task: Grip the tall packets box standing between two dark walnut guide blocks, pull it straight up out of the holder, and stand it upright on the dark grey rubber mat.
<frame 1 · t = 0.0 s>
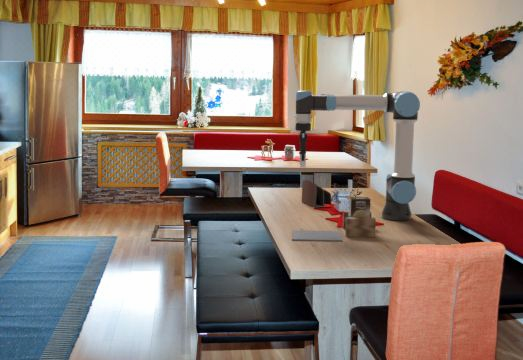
hand: (302, 165, 329), 28 cm above the table, tool pointing down, fingers open, 13 cm apart
coffee box: (358, 232, 311), on the table
packet holder: (358, 231, 311), on the table
letter holder: (316, 205, 379), on the table
rubber mat: (316, 236, 301), on the table
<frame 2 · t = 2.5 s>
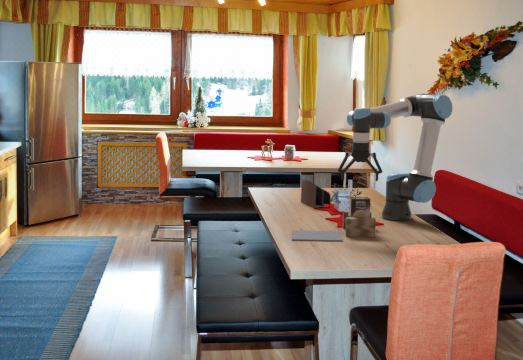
hand: (359, 187, 308), 21 cm above the table, tool pointing down, fingers open, 13 cm apart
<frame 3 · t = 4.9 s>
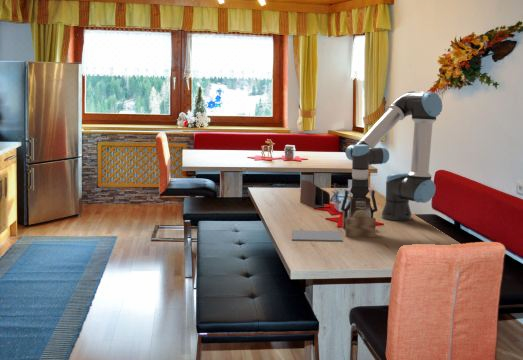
hand: (358, 225, 311), 3 cm above the table, tool pointing down, fingers closed on coffee box, 9 cm apart
coffee box: (358, 232, 311), on the table, touching gripper
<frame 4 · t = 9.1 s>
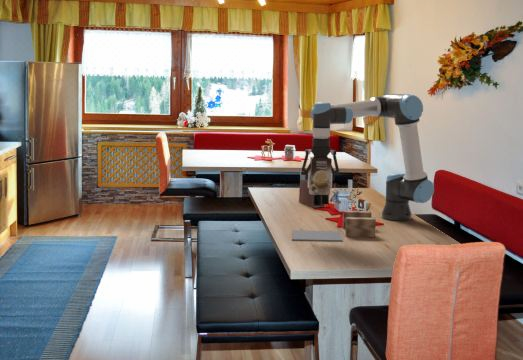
hand: (319, 187, 299), 22 cm above the table, tool pointing down, fingers closed on coffee box, 9 cm apart
coffee box: (319, 194, 299), point 19 cm above the table, touching gripper
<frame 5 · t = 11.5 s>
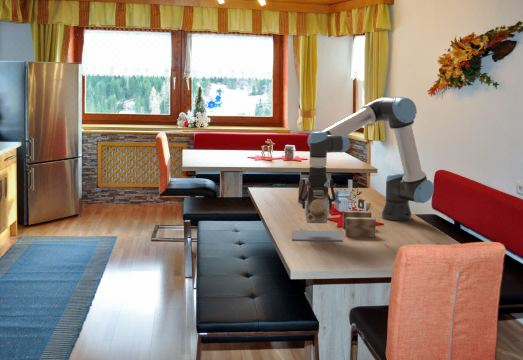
hand: (316, 216, 300), 9 cm above the table, tool pointing down, fingers closed on coffee box, 9 cm apart
coffee box: (316, 222, 300), point 6 cm above the table, touching gripper
when the fingers open (5 cm above the table, at t = 13.3 s): coffee box drops 2 cm, resting on rubber mat.
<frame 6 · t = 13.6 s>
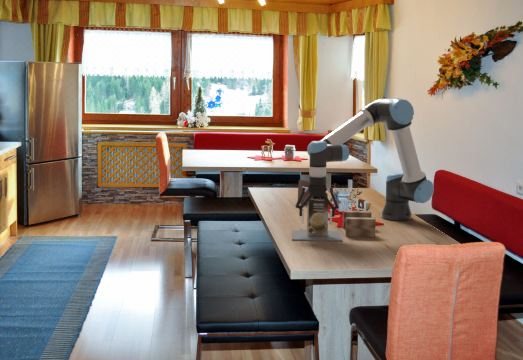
hand: (316, 223, 300), 6 cm above the table, tool pointing down, fingers open, 12 cm apart
coffee box: (317, 235, 301), resting on rubber mat
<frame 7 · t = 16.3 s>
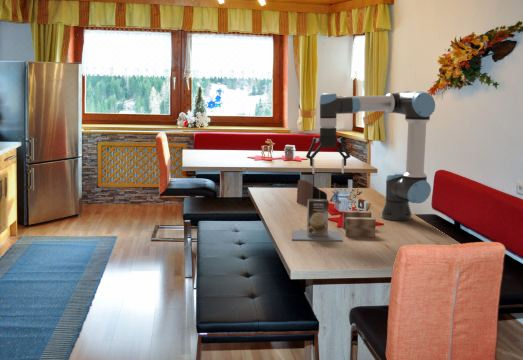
hand: (328, 173, 309), 27 cm above the table, tool pointing down, fingers open, 13 cm apart
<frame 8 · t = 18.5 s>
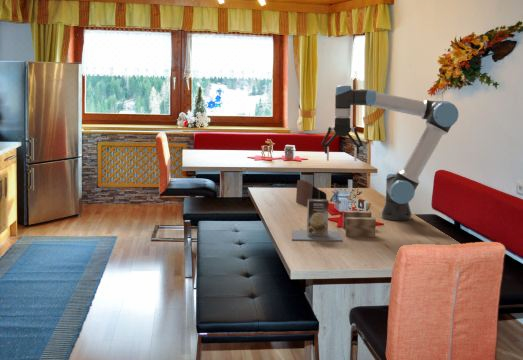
hand: (341, 160, 329), 31 cm above the table, tool pointing down, fingers open, 13 cm apart
at the end: coffee box inside the target area on the rubber mat (0.3 cm from its centre), point 0.4 cm above the rubber mat's base; coffee box tilted 0°; the gripper is holding nothing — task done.
